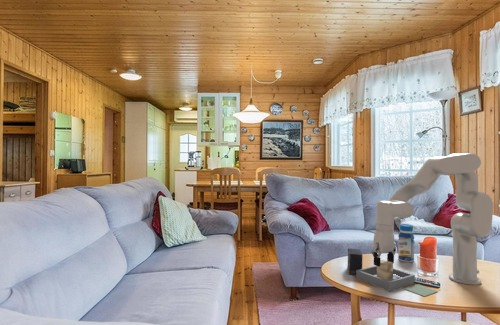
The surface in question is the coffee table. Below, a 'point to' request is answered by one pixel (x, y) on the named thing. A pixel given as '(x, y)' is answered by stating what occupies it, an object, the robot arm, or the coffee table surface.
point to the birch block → (385, 269)
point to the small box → (354, 261)
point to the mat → (421, 290)
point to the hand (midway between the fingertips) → (383, 264)
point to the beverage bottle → (406, 243)
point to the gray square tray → (386, 284)
